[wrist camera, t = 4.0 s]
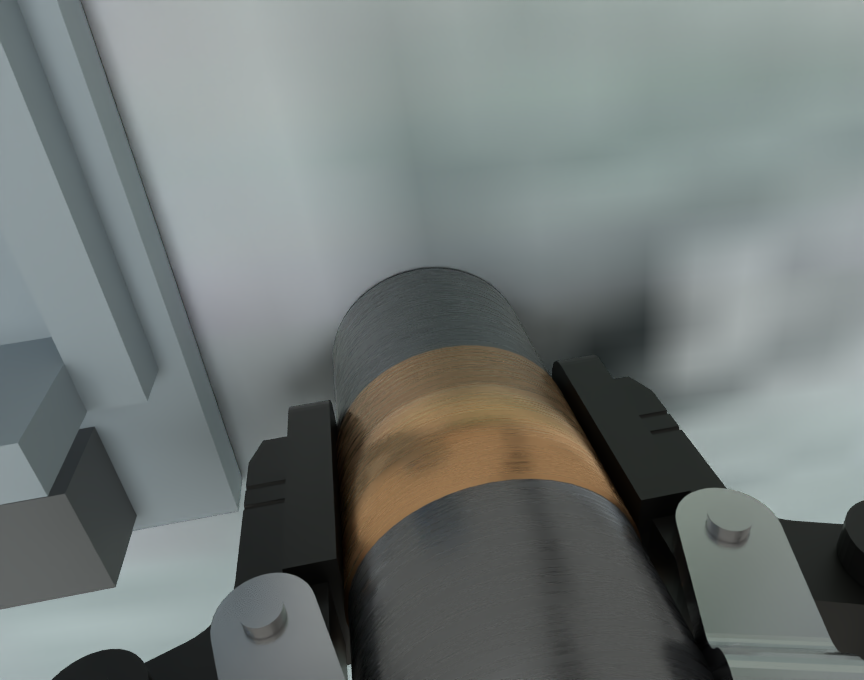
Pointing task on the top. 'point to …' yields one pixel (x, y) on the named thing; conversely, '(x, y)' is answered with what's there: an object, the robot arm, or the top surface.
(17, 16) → the tray
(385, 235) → the top surface
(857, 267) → the top surface
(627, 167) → the top surface
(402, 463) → the cell
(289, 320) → the top surface
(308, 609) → the robot arm
